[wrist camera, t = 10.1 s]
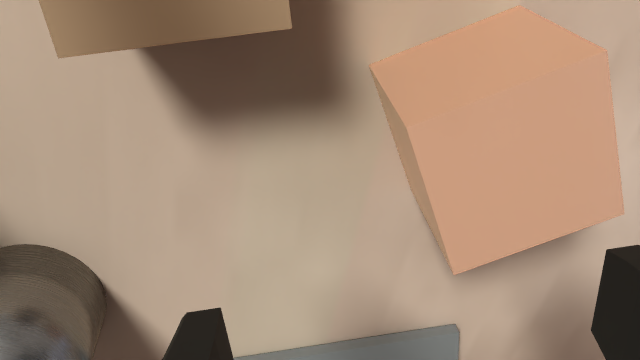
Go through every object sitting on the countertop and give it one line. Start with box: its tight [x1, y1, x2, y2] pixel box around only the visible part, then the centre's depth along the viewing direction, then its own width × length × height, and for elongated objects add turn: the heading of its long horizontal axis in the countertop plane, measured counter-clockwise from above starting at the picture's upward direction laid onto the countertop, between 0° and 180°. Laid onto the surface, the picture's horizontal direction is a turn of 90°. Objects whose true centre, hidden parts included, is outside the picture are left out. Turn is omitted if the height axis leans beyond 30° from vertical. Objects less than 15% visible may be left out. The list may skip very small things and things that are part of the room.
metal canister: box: [0, 244, 107, 360], centre depth 19 cm, size 5×5×5 cm
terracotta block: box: [369, 5, 624, 275], centre depth 17 cm, size 5×5×5 cm
